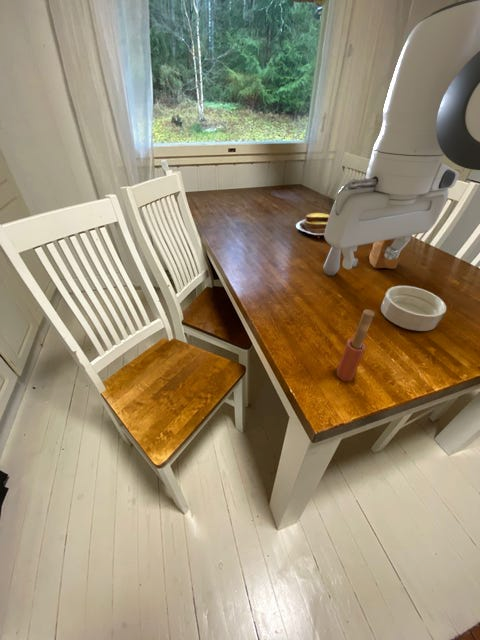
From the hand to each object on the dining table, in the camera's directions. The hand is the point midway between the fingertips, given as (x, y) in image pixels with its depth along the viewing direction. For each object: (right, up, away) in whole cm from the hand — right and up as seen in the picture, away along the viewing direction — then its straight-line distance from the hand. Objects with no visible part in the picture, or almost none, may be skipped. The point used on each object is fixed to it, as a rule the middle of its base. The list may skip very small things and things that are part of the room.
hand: (370, 262), depth 48 cm
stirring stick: (+2, -23, +17) cm, 28 cm away
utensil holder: (+2, -23, +17) cm, 29 cm away
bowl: (+28, -9, +35) cm, 46 cm away
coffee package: (+35, +13, +63) cm, 73 cm away
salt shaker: (+12, +8, +56) cm, 58 cm away
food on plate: (+18, +36, +90) cm, 99 cm away
